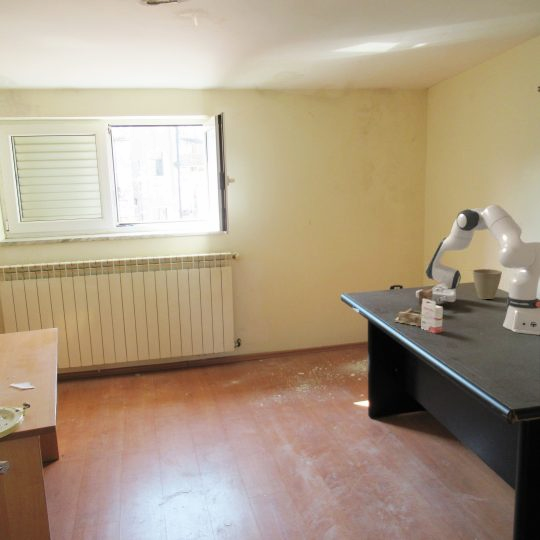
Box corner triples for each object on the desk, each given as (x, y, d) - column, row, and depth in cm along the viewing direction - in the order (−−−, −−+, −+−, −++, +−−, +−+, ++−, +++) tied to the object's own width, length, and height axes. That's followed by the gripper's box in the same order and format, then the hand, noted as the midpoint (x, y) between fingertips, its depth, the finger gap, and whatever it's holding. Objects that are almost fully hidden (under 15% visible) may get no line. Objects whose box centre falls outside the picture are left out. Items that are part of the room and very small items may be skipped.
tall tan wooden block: (431, 312, 244) (432, 290, 242) (427, 315, 239) (428, 292, 237) (423, 311, 247) (423, 288, 245) (418, 314, 241) (419, 291, 239)
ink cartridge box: (442, 332, 213) (444, 300, 210) (434, 333, 210) (435, 301, 208) (428, 327, 220) (429, 296, 218) (420, 328, 218) (421, 298, 215)
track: (433, 319, 232) (433, 308, 231) (422, 327, 220) (422, 315, 219) (405, 315, 240) (405, 304, 239) (393, 322, 229) (394, 311, 228)
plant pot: (494, 295, 276) (496, 268, 273) (504, 301, 261) (506, 273, 259) (467, 295, 278) (469, 268, 275) (476, 301, 263) (477, 273, 260)
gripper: (420, 285, 264) (411, 290, 253) (458, 289, 252) (450, 294, 241) (420, 296, 265) (411, 301, 254) (458, 301, 253) (450, 306, 242)
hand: (430, 298), depth 248 cm, fingers open, 8 cm apart
